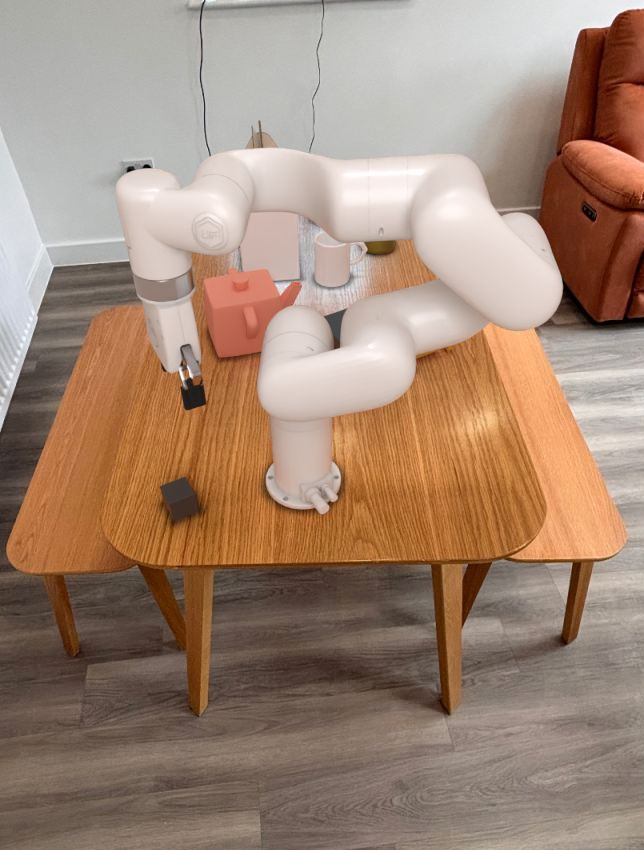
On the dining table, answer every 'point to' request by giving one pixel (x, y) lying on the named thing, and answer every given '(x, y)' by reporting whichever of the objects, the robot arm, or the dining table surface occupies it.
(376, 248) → the mug
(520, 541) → the dining table surface
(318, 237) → the mug
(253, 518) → the dining table surface
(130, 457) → the dining table surface
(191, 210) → the robot arm
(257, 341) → the teapot
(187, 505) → the block
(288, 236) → the paper bag
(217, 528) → the dining table surface
